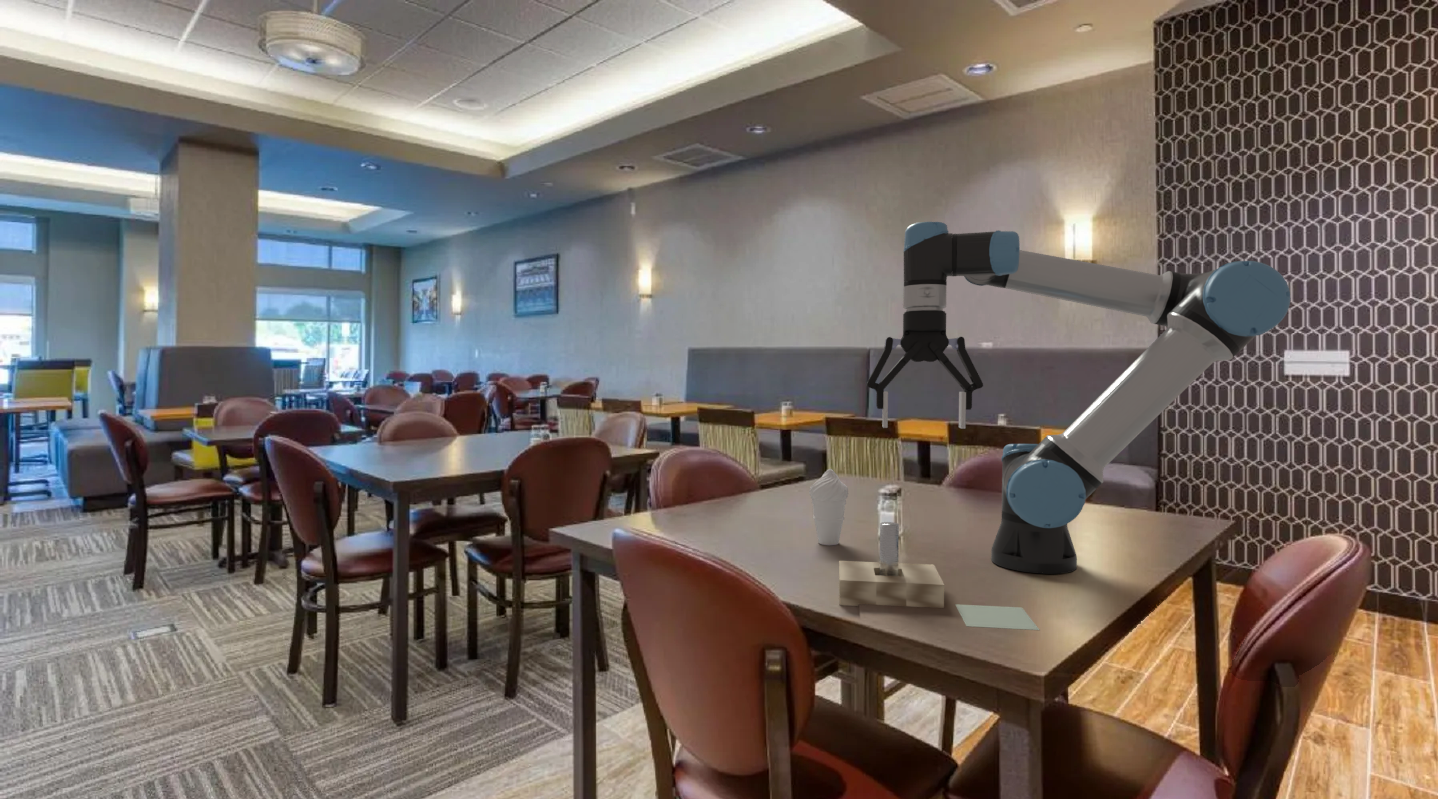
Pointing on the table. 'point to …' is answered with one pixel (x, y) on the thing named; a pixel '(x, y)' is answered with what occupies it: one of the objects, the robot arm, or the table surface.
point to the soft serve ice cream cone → (828, 507)
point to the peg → (889, 548)
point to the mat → (996, 617)
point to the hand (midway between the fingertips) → (923, 427)
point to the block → (890, 585)
